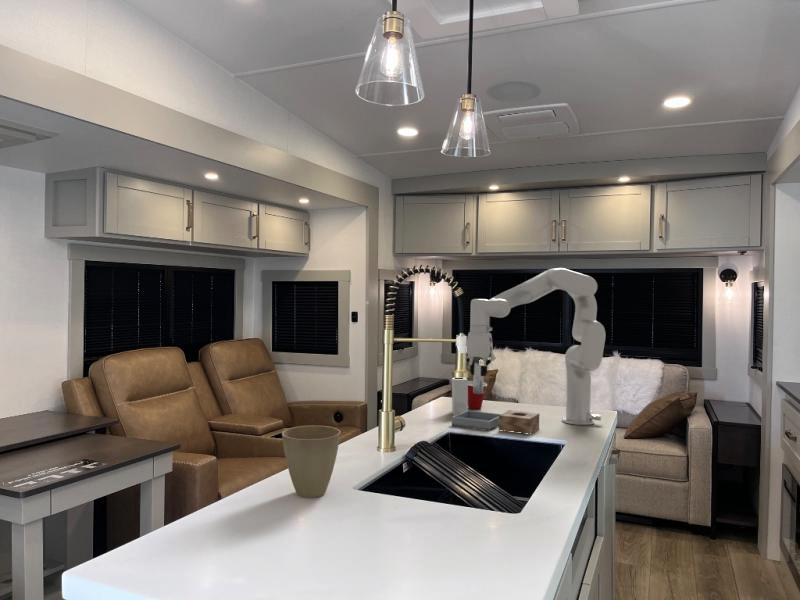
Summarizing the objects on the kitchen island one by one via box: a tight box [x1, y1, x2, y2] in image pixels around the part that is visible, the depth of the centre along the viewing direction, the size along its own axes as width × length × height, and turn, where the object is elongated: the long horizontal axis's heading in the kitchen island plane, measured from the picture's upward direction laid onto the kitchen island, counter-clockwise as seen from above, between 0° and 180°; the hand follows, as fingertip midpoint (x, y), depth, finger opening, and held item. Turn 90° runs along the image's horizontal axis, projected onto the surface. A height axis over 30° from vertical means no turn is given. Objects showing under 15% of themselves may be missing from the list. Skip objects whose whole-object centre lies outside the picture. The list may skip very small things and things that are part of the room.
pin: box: [472, 357, 485, 394], centre depth 235 cm, size 5×5×15 cm
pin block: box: [498, 409, 540, 435], centre depth 227 cm, size 12×12×6 cm
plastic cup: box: [468, 380, 488, 411], centre depth 268 cm, size 11×11×12 cm
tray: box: [451, 409, 502, 431], centre depth 235 cm, size 16×16×4 cm
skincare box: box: [451, 377, 469, 416], centre depth 256 cm, size 8×7×16 cm
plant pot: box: [281, 425, 341, 499], centre depth 151 cm, size 15×15×16 cm
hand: (478, 374), depth 235 cm, fingers closed on pin, 4 cm apart
